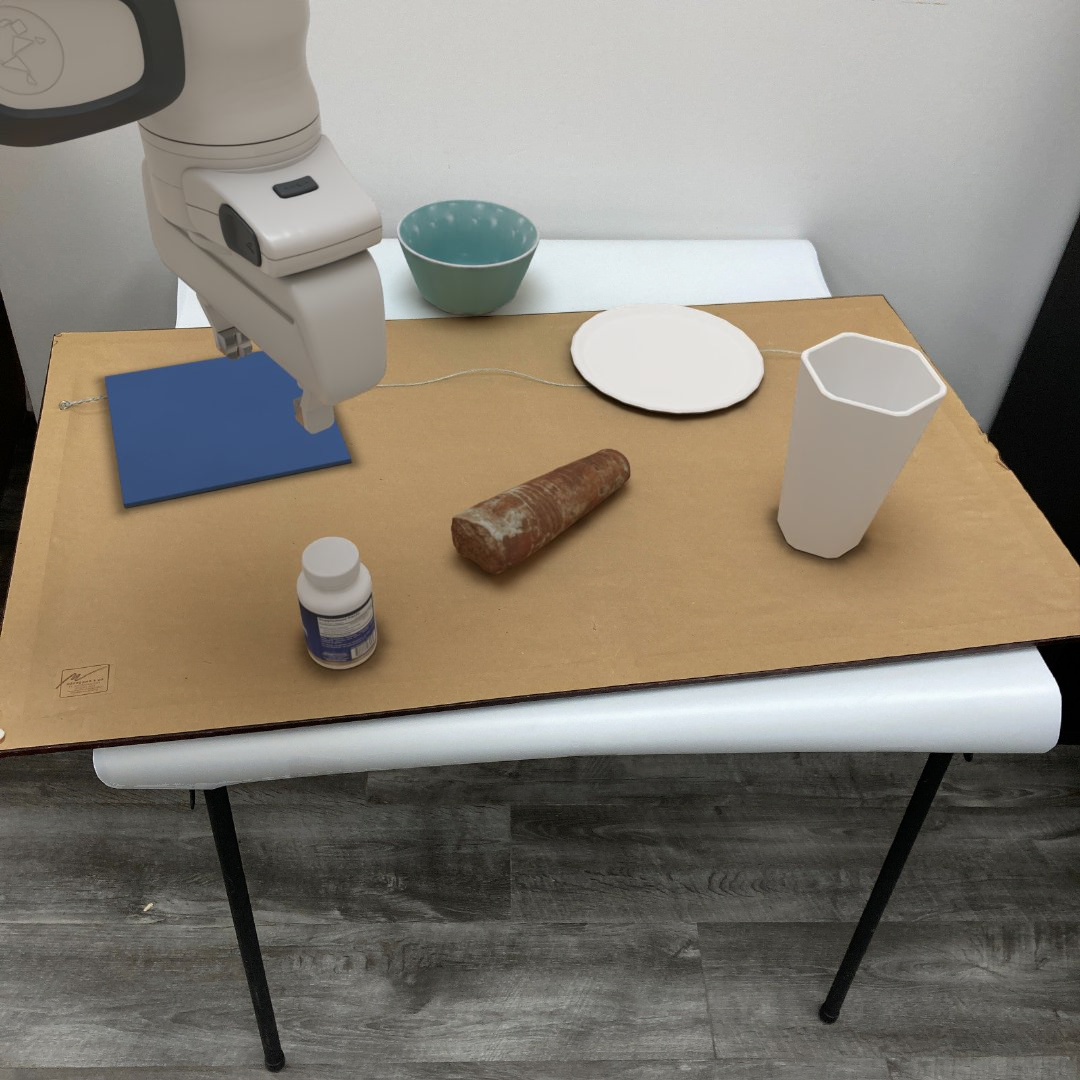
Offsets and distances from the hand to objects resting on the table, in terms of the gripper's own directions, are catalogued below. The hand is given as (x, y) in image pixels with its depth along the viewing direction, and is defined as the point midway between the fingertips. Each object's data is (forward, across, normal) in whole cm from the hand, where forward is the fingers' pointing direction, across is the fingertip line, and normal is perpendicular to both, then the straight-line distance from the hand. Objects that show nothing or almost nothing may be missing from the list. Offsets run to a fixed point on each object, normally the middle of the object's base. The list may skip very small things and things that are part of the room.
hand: (274, 387), depth 60 cm
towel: (+23, -28, +8) cm, 37 cm away
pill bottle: (+23, +3, +1) cm, 23 cm away
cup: (+23, +18, +41) cm, 50 cm away
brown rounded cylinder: (+23, +2, +22) cm, 32 cm away
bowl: (+23, -32, +41) cm, 57 cm away
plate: (+23, -9, +50) cm, 55 cm away
